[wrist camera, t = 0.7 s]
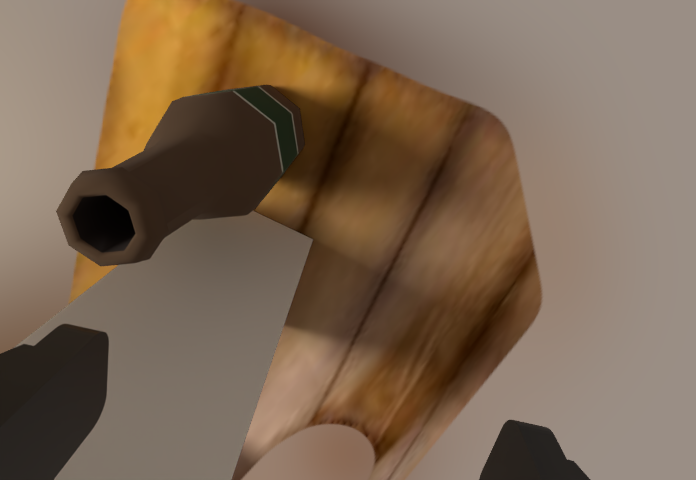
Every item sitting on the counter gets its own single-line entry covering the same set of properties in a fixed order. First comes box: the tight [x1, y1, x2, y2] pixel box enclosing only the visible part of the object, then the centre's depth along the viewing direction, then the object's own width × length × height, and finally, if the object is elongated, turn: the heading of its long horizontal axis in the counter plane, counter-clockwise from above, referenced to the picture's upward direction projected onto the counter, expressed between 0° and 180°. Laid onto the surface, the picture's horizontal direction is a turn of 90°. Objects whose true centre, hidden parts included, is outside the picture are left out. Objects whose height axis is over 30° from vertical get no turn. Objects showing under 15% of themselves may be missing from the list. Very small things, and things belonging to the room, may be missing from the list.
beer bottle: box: [56, 85, 305, 266], centre depth 26 cm, size 8×8×24 cm
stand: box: [14, 211, 313, 480], centre depth 27 cm, size 13×14×32 cm
